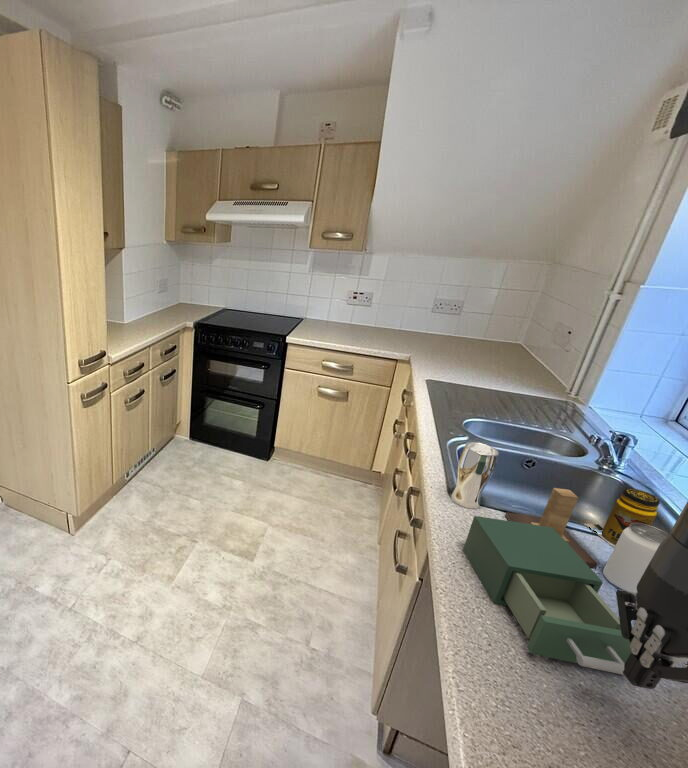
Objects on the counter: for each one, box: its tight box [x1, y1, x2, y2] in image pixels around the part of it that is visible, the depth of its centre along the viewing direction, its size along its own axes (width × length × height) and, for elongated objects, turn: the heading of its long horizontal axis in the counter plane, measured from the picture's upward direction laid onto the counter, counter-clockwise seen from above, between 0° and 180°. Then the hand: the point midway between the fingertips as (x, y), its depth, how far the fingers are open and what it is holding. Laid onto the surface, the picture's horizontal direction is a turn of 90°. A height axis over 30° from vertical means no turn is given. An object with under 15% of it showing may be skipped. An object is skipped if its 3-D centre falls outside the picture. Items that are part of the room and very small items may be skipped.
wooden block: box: [530, 487, 579, 543], centre depth 88 cm, size 5×5×11 cm
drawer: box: [503, 571, 631, 676], centre depth 66 cm, size 17×13×7 cm
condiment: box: [583, 488, 661, 549], centre depth 89 cm, size 7×8×12 cm
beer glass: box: [450, 441, 500, 510], centre depth 100 cm, size 7×7×15 cm
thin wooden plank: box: [504, 511, 599, 569], centre depth 90 cm, size 10×14×1 cm
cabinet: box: [462, 515, 604, 607], centre depth 78 cm, size 14×14×9 cm
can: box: [602, 523, 669, 593], centre depth 77 cm, size 6×6×12 cm
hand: (635, 681), depth 54 cm, fingers closed
